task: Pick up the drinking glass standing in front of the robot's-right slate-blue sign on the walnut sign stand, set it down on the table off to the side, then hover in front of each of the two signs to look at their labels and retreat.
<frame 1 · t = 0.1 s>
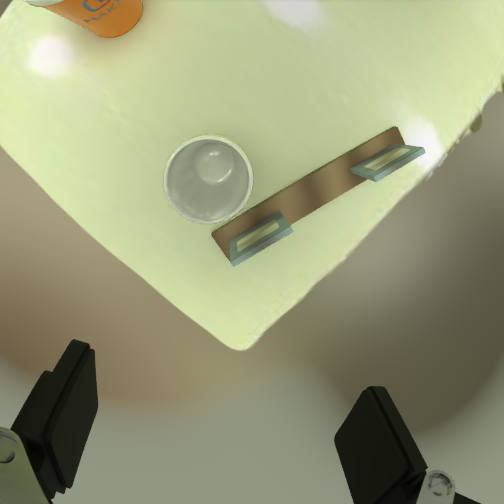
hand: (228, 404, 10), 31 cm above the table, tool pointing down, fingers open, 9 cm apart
drinking glass: (215, 162, 37), on the table
shaker bottle: (116, 14, 29), on the table
sign stand: (314, 189, 39), on the table
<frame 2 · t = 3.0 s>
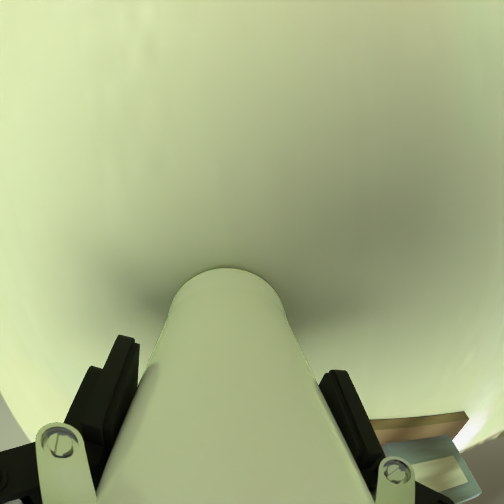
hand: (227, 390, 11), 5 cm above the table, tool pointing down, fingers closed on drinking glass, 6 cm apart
drinking glass: (226, 312, 16), on the table, touching gripper
sign stand: (321, 438, 20), on the table
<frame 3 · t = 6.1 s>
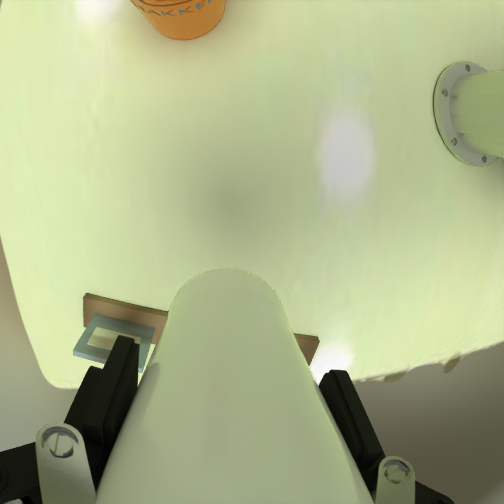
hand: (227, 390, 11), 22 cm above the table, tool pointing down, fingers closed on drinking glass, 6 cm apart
drinking glass: (226, 312, 16), point 17 cm above the table, touching gripper
shaker bottle: (187, 9, 24), on the table
sign stand: (199, 333, 35), on the table
when the fingers open (6 cm above the table, at t = 9.5 s): drinking glass drops 1 cm, on the table.
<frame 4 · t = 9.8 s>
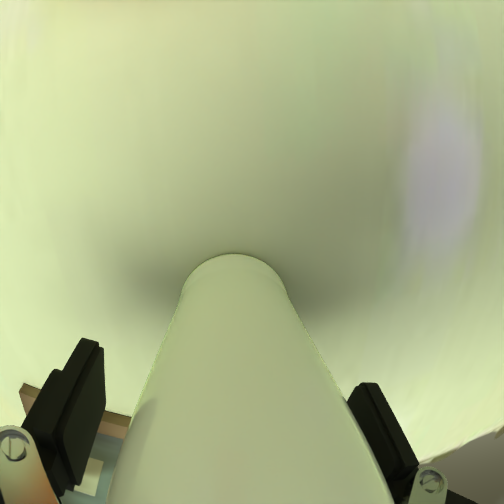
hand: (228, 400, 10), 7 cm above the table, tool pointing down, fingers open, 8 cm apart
drinking glass: (233, 296, 17), on the table
sign stand: (191, 444, 21), on the table
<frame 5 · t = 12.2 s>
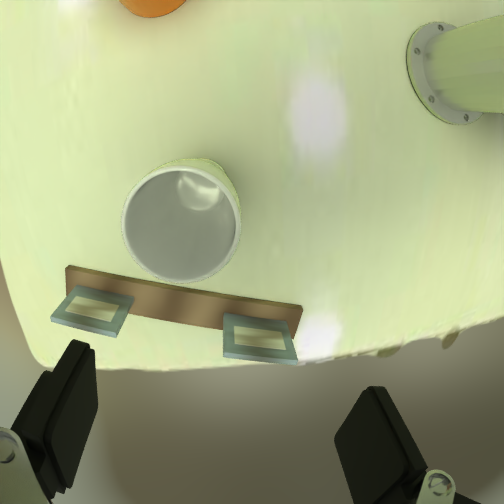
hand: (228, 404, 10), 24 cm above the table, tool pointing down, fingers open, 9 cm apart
drinking glass: (201, 184, 31), on the table
sign stand: (179, 302, 35), on the table
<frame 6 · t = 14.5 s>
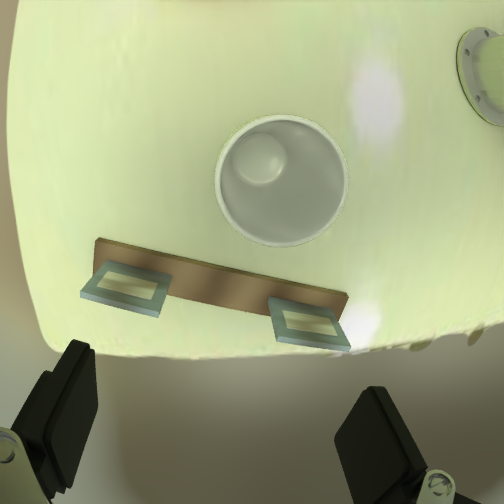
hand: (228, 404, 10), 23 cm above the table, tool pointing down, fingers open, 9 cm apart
drinking glass: (258, 158, 29), on the table
sign stand: (220, 284, 33), on the table
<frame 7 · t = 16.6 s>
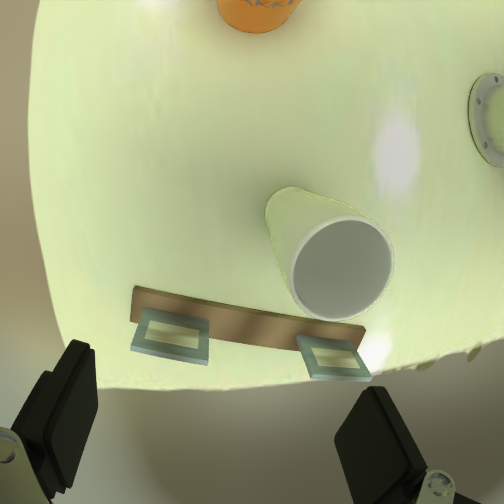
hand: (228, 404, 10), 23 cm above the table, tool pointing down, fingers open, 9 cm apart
drinking glass: (290, 212, 32), on the table
shaker bottle: (254, 4, 25), on the table
sign stand: (253, 325, 36), on the table
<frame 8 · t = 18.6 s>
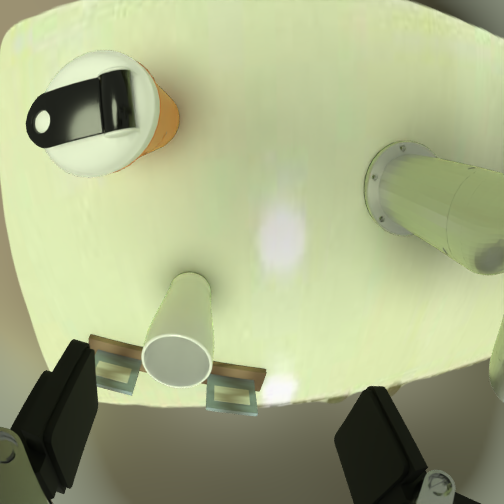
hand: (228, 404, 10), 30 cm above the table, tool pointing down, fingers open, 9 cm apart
drinking glass: (190, 288, 42), on the table
shaker bottle: (150, 120, 34), on the table
sign stand: (175, 364, 46), on the table
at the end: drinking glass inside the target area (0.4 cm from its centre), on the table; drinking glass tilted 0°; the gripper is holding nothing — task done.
